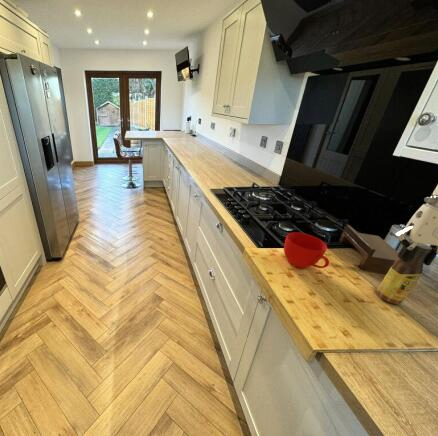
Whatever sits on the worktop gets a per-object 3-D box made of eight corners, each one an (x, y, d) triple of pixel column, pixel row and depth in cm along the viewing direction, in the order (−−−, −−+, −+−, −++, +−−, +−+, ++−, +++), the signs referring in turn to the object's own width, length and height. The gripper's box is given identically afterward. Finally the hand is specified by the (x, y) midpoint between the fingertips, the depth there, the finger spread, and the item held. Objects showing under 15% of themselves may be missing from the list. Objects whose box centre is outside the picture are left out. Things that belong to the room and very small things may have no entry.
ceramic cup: (304, 283, 81) (314, 259, 76) (271, 254, 95) (279, 233, 91) (335, 279, 83) (347, 256, 79) (298, 252, 98) (307, 231, 93)
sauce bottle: (393, 307, 72) (428, 253, 63) (370, 292, 77) (400, 241, 69) (407, 302, 74) (443, 249, 65) (384, 289, 79) (415, 238, 70)
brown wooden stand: (371, 248, 103) (382, 229, 99) (401, 277, 86) (416, 256, 82) (337, 243, 106) (346, 224, 102) (360, 270, 89) (372, 249, 85)
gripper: (420, 204, 60) (386, 262, 68) (508, 214, 56) (460, 274, 64) (400, 194, 66) (371, 249, 74) (478, 202, 62) (438, 259, 70)
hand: (413, 260), depth 69 cm, fingers closed on sauce bottle, 4 cm apart
